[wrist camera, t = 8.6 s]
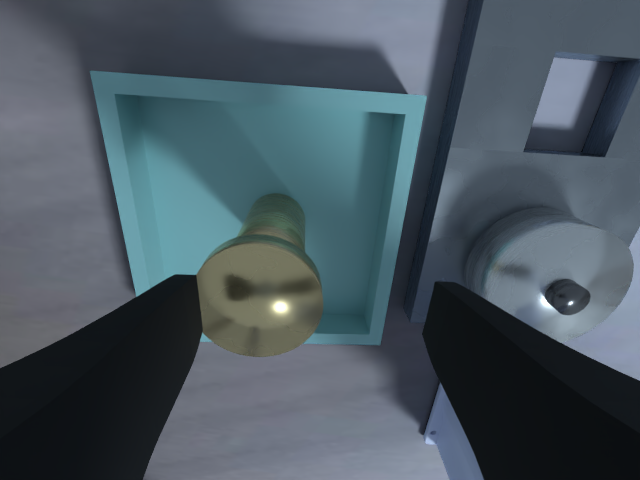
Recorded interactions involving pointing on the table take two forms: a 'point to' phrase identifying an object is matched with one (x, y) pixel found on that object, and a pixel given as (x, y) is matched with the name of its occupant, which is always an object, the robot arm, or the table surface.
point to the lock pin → (262, 283)
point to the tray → (263, 179)
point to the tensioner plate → (534, 170)
